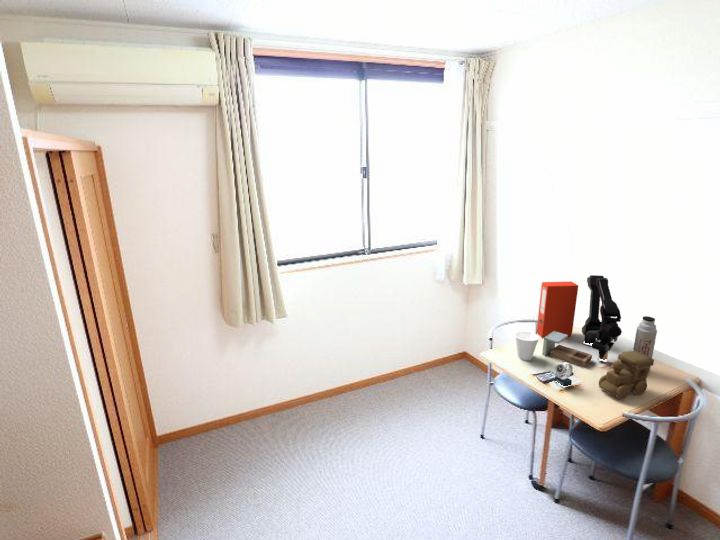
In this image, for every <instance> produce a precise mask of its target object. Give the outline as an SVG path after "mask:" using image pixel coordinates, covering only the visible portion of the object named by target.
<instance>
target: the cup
mask: <svg viewBox="0 0 720 540" xmlns="http://www.w3.org/2000/svg"><path fill="white" fill-rule="evenodd" d="M514 337H515V344H516V345H515V346H516V352H517V353H516V354H517V357H518V359H520V360H522V361H531V360H532V359H533V355H534V353H535V350H536V347H537V345H538V342H539V339H540V335H539V334H536V333H534V332H531V331H525V330H523V331H522V330H521V331H517V332H515V333H514Z"/></svg>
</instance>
